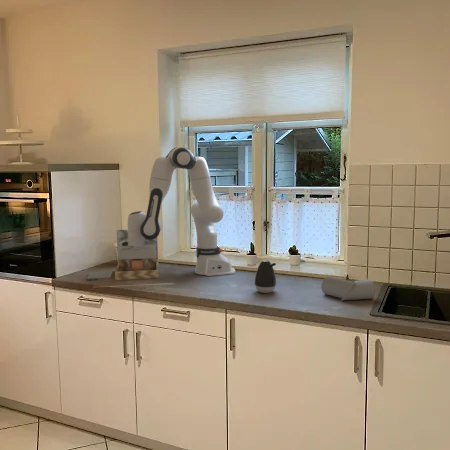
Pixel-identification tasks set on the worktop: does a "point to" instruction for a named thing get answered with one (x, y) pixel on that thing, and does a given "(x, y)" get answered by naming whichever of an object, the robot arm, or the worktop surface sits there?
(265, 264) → the pump dispenser
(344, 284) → the bent grey cylinder
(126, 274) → the brown patterned open box
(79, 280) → the worktop surface
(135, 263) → the terracotta pot
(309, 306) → the worktop surface
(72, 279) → the worktop surface
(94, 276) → the slate tile
